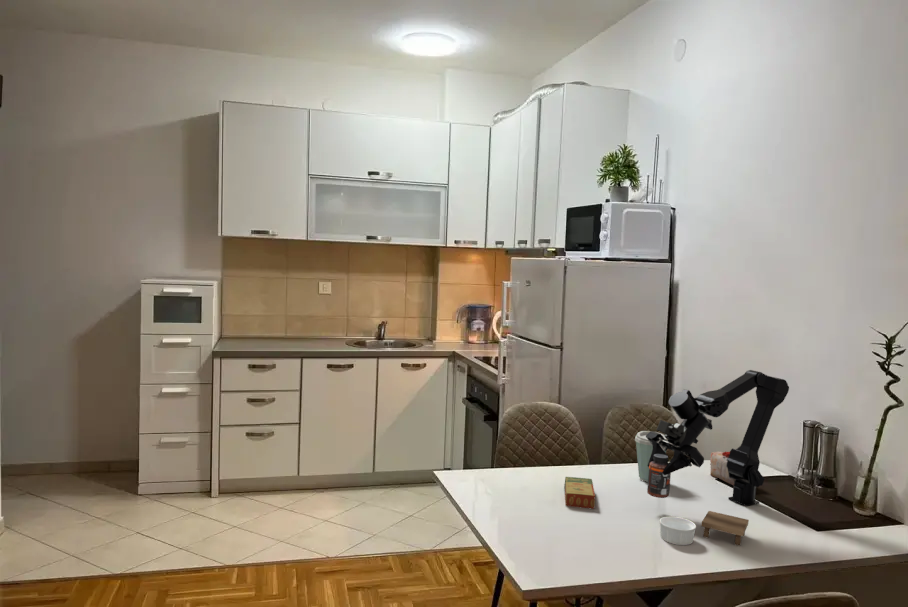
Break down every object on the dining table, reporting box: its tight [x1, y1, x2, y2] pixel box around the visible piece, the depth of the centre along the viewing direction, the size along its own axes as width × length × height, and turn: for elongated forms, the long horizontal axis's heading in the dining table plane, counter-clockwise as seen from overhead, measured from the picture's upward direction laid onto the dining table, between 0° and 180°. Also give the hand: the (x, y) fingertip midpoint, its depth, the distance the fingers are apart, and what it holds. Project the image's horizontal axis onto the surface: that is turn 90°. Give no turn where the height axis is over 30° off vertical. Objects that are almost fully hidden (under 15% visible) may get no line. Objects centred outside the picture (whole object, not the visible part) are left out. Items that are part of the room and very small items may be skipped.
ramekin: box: [659, 516, 697, 546], centre depth 174 cm, size 9×9×4 cm
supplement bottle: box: [646, 454, 671, 499], centre depth 192 cm, size 6×6×11 cm
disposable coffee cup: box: [634, 430, 668, 483], centre depth 221 cm, size 11×11×15 cm
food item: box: [709, 451, 735, 487], centre depth 226 cm, size 14×8×10 cm, turn 19°
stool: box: [701, 510, 749, 546], centre depth 178 cm, size 10×10×4 cm
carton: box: [563, 476, 596, 510], centre depth 200 cm, size 8×16×4 cm, turn 172°
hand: (655, 470), depth 191 cm, fingers closed on supplement bottle, 6 cm apart
